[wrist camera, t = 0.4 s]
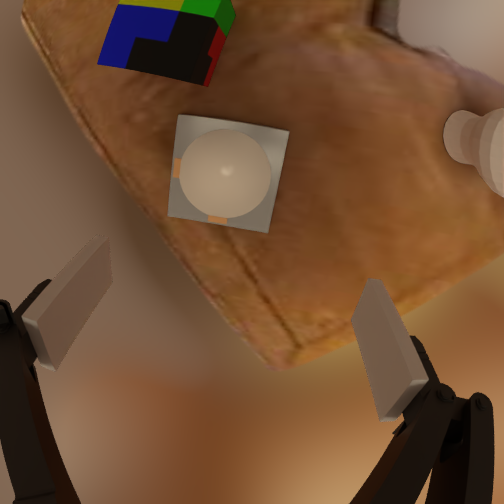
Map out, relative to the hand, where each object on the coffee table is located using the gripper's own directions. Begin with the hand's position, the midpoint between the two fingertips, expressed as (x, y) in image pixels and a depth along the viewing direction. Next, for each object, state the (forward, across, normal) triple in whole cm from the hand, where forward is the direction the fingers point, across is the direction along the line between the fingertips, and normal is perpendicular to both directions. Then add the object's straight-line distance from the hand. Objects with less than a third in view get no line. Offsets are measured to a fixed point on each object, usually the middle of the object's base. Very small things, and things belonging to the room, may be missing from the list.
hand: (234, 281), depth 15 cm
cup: (+26, +28, +11) cm, 40 cm away
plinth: (+26, -3, -1) cm, 26 cm away
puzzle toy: (+26, -11, +15) cm, 32 cm away
